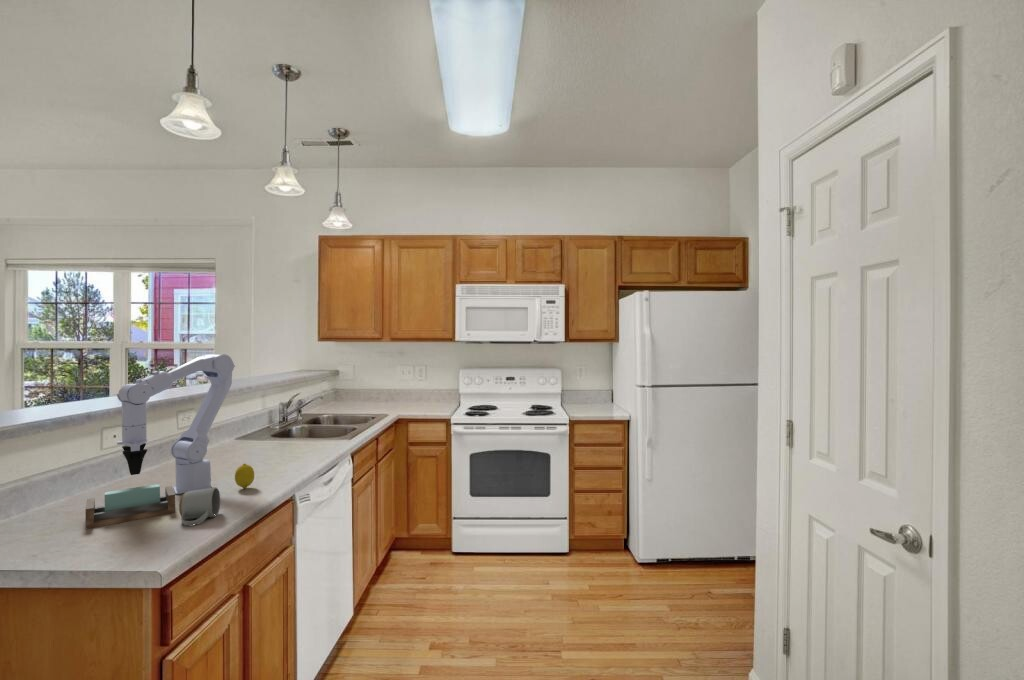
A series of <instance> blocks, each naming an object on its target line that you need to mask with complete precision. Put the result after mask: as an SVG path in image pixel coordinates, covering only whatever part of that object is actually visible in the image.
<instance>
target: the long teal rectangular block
mask: <svg viewBox="0 0 1024 680" xmlns="http://www.w3.org/2000/svg"><path fill="white" fill-rule="evenodd" d="M160 497H161V485H160V483H158V484H157V483H156V484H151V485H145V486H144V485H143V486H137V487H131V488H130V487H129V488H124V489H117V490H111V491H105V492H104V506H105V511H111V510H117V509H123V508H129V507H135V506H141V505H146V504H152V503H158V502H160Z"/></svg>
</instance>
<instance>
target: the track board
mask: <svg viewBox="0 0 1024 680" xmlns="http://www.w3.org/2000/svg"><path fill="white" fill-rule="evenodd" d="M173 487H174V486H172V485H169V486H165V487H164V488H165V489H164V491H165V493H164V495H163V496H160V502H158V503H152V504H146V505H141V506H135V507H129V508H123V509H117V510H111V511H105V505H103V506H96V502H95V501H96V497H95V498H94V497H93V498H88V499H86V504H85V529H86V528H88V529H93V528H98V527H97V526H99V527H103V525H104V526H108V525H109V524H110V525H115V524H120V523H125V522H131V521H136V519H137V520H142V519H147V517H148V518H153V517H157V515H158V516H162V515H161V514H164V515H168V514H167V513H169V514H172V513H171V512H175V513H176V494H175V491H174V489H173ZM152 516H153V517H152ZM92 527H93V528H92Z"/></svg>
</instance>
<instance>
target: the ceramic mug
mask: <svg viewBox="0 0 1024 680" xmlns="http://www.w3.org/2000/svg"><path fill="white" fill-rule="evenodd" d="M220 509H221V495H220V490H219V488H218V487H215V486H214V487H211V488H208V489H201V490H194V491H189V492H186V493H182V495H181V497H180V500H179V504H178V511H179V515H180V520H181V522H182V525H183V524H184V526H186V525H193V524H197V525H199V524H198V523H200V524H202V523H203V522H204V521H205V520H206V519H207V518H208V517H210V518H215V515H217V516H218V514H219V512H220ZM214 514H215V515H214ZM194 518H196V519H194ZM193 519H194V520H193ZM187 520H188V521H187ZM189 520H190V521H189Z"/></svg>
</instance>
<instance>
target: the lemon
mask: <svg viewBox="0 0 1024 680" xmlns="http://www.w3.org/2000/svg"><path fill="white" fill-rule="evenodd" d="M254 480H255V471H254V468H253V467H252V466H251V465H249V464H247V463H243V464H242V465H240V466H238V467H237V468H236V471H235V474H234V481H235V483H236V485H237V486H238V487H240V488H242V489H244V488H245V489H247V488H248V487H249V486H250V485H252V484H253V482H254Z"/></svg>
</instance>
